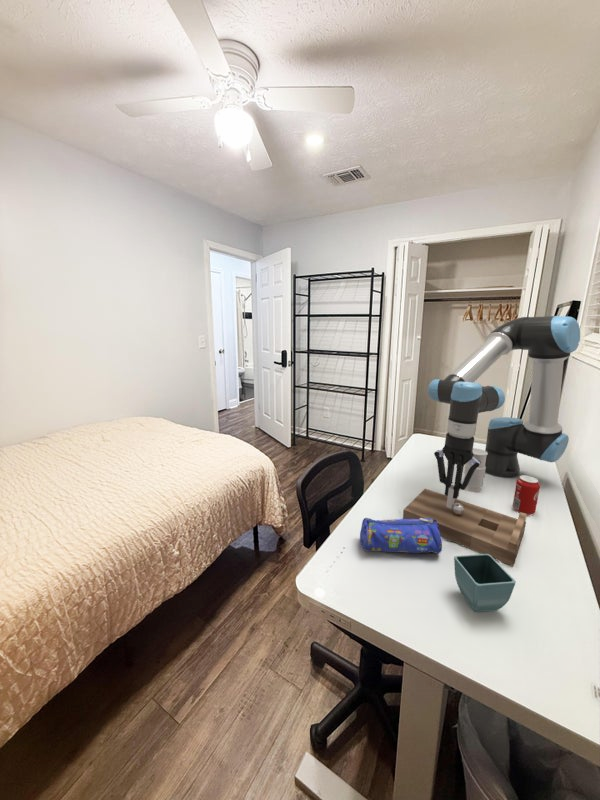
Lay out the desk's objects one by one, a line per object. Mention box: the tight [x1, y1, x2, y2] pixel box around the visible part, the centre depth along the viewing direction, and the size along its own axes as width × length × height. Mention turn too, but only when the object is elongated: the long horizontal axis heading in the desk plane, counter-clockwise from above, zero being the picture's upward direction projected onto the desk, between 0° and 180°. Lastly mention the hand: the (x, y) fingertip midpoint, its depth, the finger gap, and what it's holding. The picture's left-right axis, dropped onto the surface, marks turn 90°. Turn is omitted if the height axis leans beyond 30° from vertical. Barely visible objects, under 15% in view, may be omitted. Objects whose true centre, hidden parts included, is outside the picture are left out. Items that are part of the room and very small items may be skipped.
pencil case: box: [359, 517, 443, 554], centre depth 88 cm, size 22×9×10 cm, turn 88°
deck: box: [402, 488, 527, 567], centre depth 98 cm, size 18×30×6 cm, turn 48°
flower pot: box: [453, 553, 517, 613], centre depth 71 cm, size 9×9×9 cm
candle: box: [462, 447, 488, 493], centre depth 120 cm, size 7×7×15 cm
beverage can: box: [512, 475, 541, 517], centre depth 105 cm, size 6×6×12 cm
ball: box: [452, 503, 464, 515], centre depth 98 cm, size 4×4×4 cm
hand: (449, 505), depth 99 cm, fingers closed
